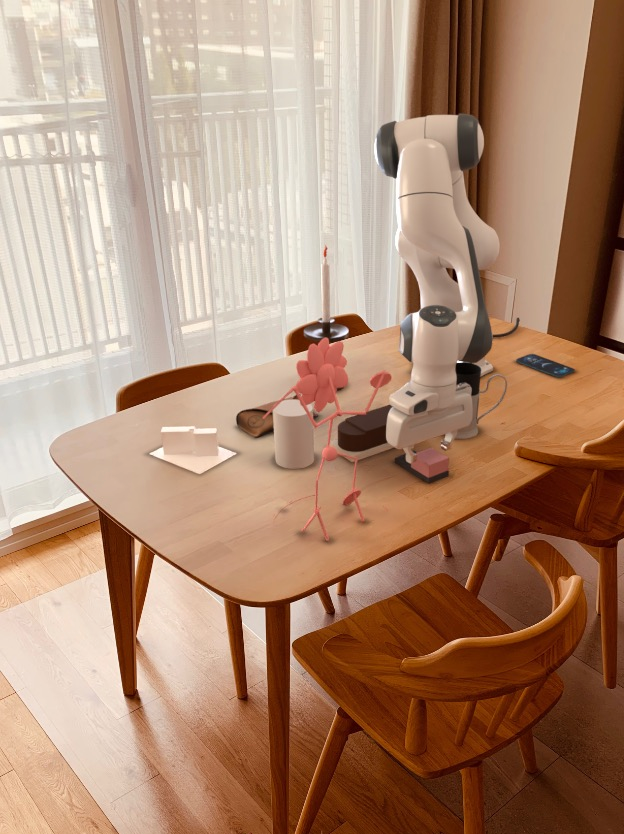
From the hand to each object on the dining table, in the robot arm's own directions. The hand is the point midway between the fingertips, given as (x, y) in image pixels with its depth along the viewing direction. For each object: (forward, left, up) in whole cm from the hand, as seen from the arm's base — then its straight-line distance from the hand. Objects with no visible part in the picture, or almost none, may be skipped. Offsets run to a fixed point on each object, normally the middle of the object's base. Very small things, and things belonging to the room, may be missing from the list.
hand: (428, 455), depth 163 cm
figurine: (+27, 0, -5) cm, 27 cm away
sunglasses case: (+11, -39, -5) cm, 41 cm away
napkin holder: (+35, -37, -5) cm, 51 cm away
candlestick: (-9, -50, -5) cm, 51 cm away
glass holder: (-21, -10, -5) cm, 24 cm away
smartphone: (-64, -26, -5) cm, 69 cm away
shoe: (0, -18, -5) cm, 18 cm away
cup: (+19, -22, -5) cm, 29 cm away
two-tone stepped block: (0, -3, -5) cm, 5 cm away
